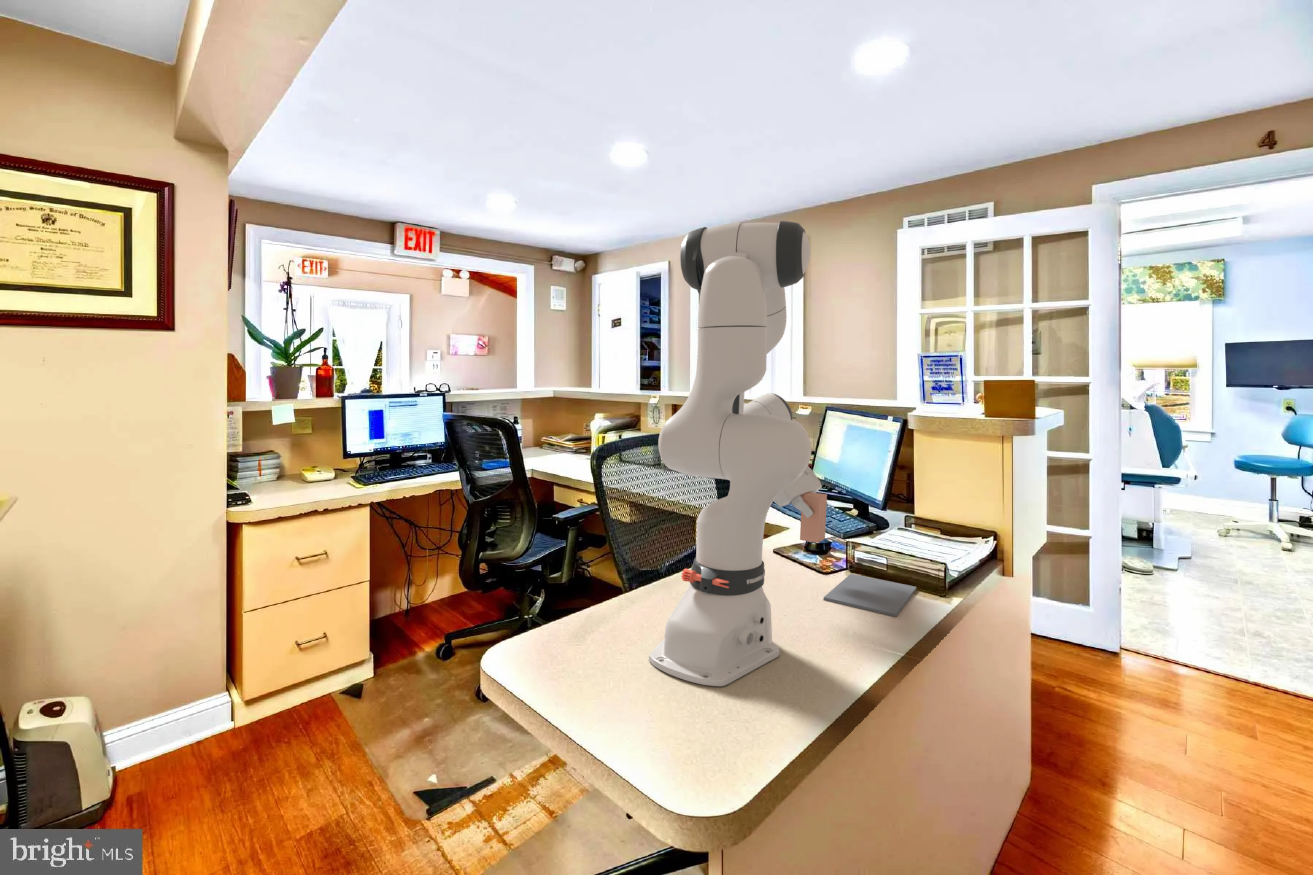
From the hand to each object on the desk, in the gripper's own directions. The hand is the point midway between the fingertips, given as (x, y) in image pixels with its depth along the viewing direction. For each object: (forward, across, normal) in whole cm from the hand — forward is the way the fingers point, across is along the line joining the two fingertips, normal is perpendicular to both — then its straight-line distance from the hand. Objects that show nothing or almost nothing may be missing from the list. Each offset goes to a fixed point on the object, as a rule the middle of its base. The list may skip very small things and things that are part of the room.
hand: (816, 513), depth 125 cm
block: (+4, 0, +5) cm, 6 cm away
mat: (+20, +1, +2) cm, 20 cm away
